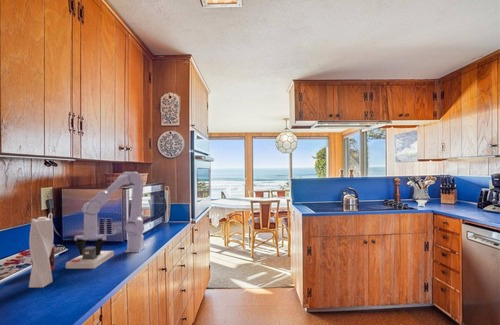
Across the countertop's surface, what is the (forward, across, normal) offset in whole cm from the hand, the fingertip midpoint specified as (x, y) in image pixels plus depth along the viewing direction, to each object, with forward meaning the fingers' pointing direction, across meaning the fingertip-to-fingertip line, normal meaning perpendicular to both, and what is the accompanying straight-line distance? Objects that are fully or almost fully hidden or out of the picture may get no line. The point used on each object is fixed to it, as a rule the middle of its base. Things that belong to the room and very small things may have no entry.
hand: (90, 254), depth 131 cm
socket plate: (+4, 0, +1) cm, 4 cm away
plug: (+3, 0, 0) cm, 3 cm away
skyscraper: (+4, -4, -25) cm, 26 cm away
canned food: (+4, -14, -11) cm, 19 cm away
